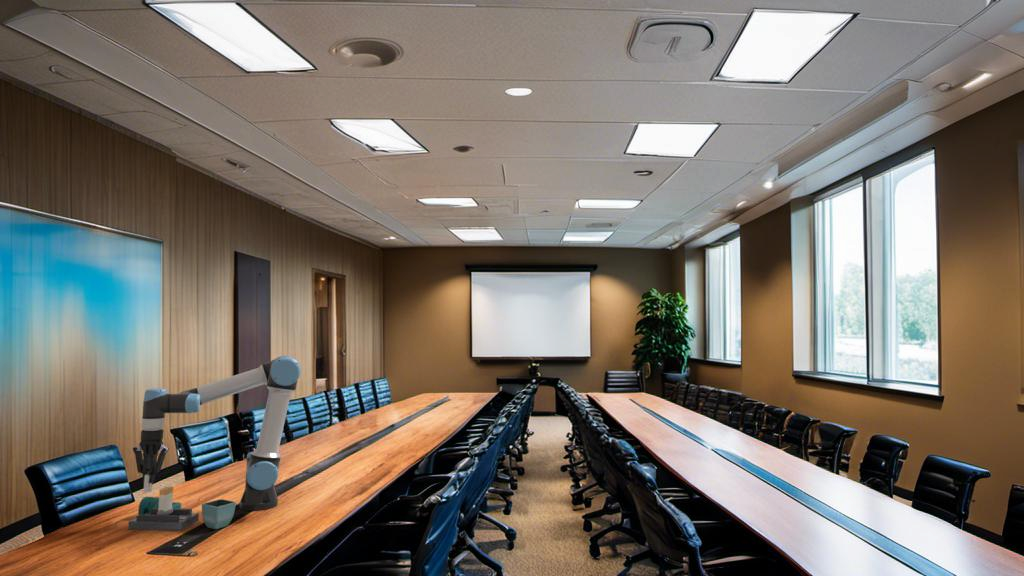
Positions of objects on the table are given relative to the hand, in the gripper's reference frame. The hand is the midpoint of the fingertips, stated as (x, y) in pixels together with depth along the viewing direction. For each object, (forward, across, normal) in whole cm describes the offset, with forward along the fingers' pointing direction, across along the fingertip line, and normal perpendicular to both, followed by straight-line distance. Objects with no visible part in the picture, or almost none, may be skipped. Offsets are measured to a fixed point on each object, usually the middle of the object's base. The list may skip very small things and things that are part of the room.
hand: (147, 491), depth 232 cm
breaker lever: (+9, -7, 0) cm, 12 cm away
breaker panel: (+12, -7, 0) cm, 14 cm away
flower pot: (+12, -28, +1) cm, 31 cm away
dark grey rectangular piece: (+9, -7, 0) cm, 12 cm away
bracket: (+13, +3, -16) cm, 21 cm away
